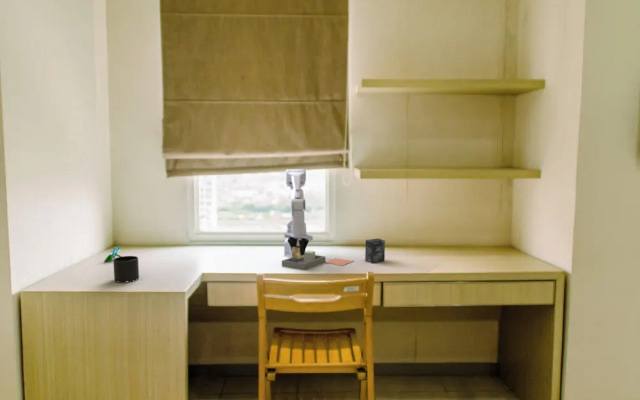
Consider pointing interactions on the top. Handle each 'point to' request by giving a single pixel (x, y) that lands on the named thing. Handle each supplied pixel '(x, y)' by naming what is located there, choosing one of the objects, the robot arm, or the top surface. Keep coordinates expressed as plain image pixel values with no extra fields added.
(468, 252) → the top surface
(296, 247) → the label block
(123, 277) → the mug
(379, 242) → the box
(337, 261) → the mat
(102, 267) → the top surface
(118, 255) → the stick construction toy
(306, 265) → the tray
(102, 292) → the top surface
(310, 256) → the plain block
